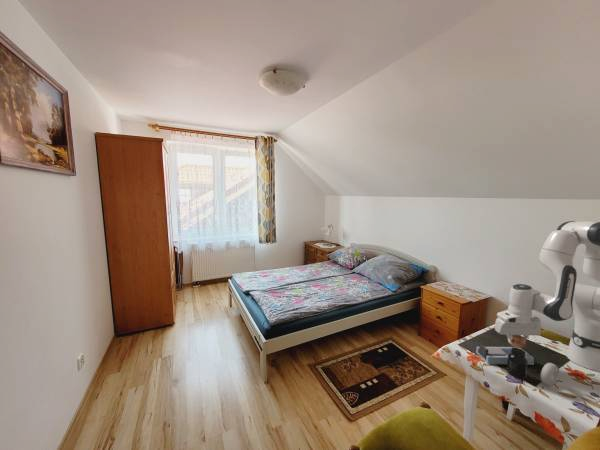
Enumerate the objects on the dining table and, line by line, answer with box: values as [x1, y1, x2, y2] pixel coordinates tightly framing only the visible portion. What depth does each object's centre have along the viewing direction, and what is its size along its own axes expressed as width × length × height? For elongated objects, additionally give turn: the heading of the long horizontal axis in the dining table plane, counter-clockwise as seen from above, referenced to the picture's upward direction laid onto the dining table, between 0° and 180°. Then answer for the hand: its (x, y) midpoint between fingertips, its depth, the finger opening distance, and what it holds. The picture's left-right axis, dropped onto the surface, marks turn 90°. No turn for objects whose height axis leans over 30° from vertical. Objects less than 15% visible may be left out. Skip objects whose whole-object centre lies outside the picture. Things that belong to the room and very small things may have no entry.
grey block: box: [478, 344, 506, 359], centre depth 122 cm, size 10×4×5 cm, turn 87°
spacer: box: [507, 335, 527, 349], centre depth 121 cm, size 4×4×5 cm
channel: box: [475, 346, 535, 366], centre depth 122 cm, size 22×9×4 cm, turn 87°
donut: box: [540, 362, 560, 387], centre depth 104 cm, size 10×4×10 cm, turn 114°
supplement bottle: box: [506, 346, 528, 380], centre depth 110 cm, size 7×7×12 cm
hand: (516, 342), depth 121 cm, fingers closed on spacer, 4 cm apart
